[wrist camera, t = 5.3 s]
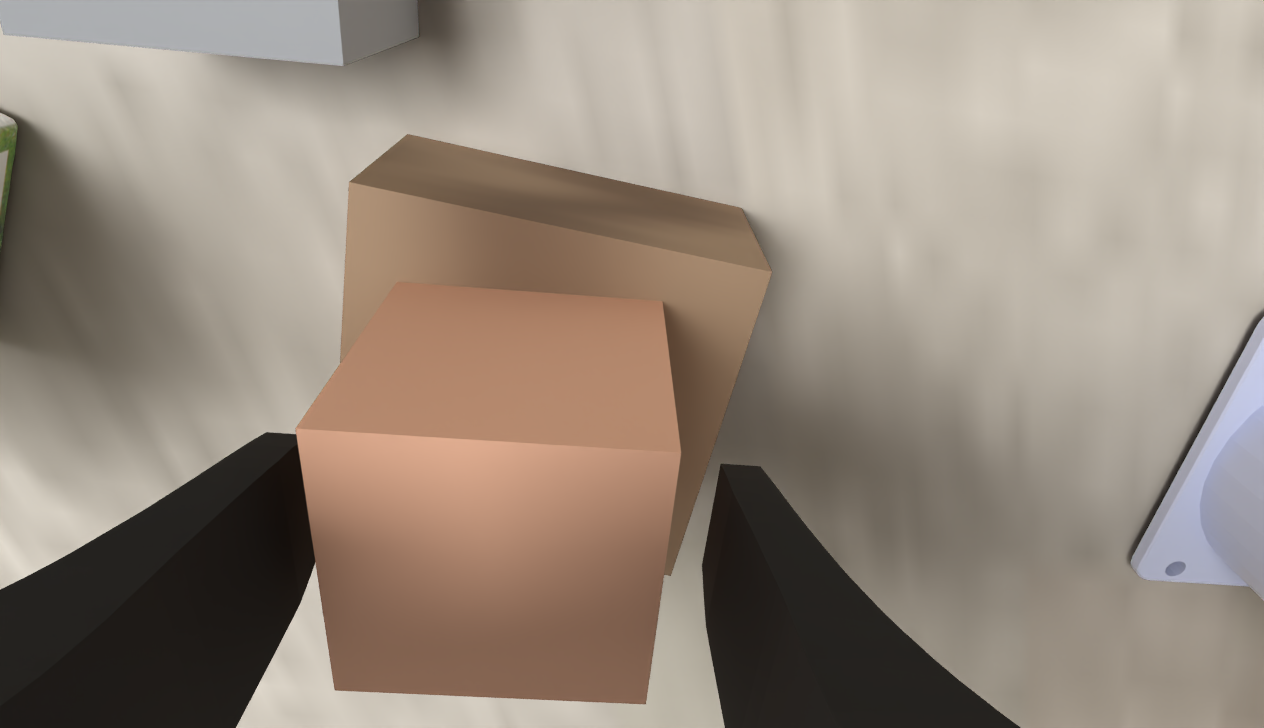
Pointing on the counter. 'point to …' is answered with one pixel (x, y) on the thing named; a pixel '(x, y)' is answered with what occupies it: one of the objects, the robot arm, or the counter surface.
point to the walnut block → (566, 263)
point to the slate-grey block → (224, 26)
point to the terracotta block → (495, 495)
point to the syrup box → (6, 163)
